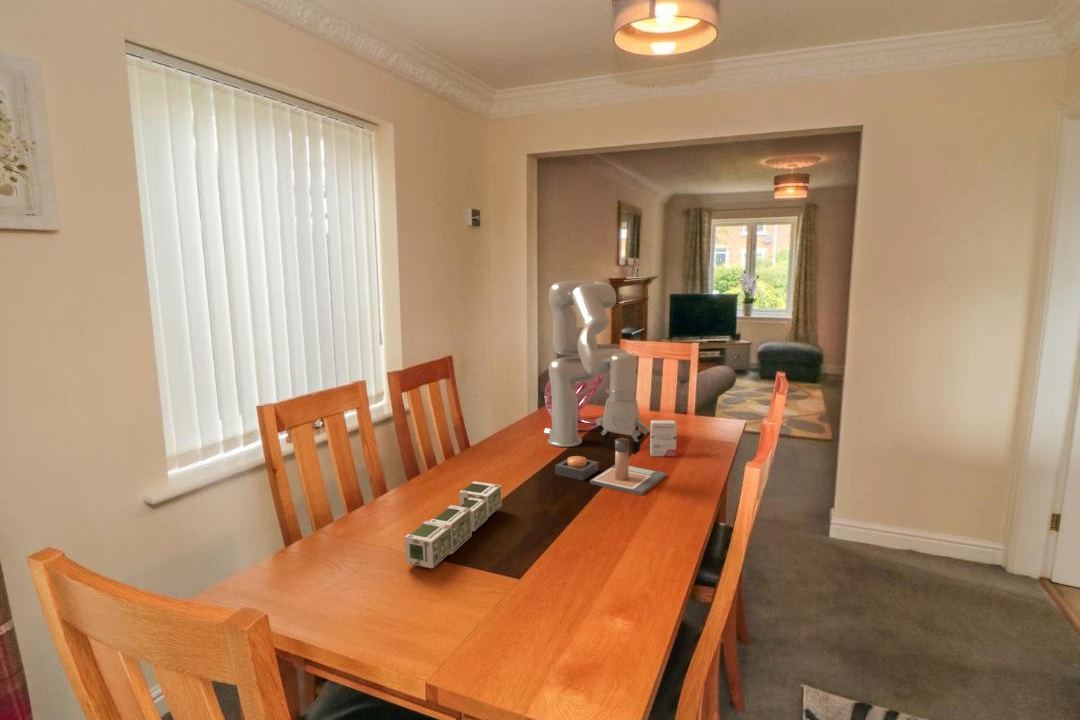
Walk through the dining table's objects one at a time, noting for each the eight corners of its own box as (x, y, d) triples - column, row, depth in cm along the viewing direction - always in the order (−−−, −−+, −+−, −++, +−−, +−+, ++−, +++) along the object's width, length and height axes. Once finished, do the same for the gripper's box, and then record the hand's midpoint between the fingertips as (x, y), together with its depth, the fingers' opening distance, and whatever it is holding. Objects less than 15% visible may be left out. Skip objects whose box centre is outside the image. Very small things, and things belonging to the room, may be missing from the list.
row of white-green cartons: (474, 506, 164) (473, 480, 162) (502, 510, 160) (501, 484, 159) (400, 566, 132) (398, 535, 130) (432, 573, 128) (431, 541, 127)
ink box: (674, 452, 207) (675, 419, 205) (676, 457, 202) (677, 423, 200) (649, 452, 207) (650, 419, 205) (650, 456, 203) (651, 423, 201)
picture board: (589, 483, 179) (589, 479, 179) (616, 466, 194) (616, 462, 193) (641, 495, 169) (641, 491, 169) (666, 476, 184) (666, 472, 184)
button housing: (555, 474, 187) (555, 465, 186) (571, 465, 195) (571, 456, 195) (582, 480, 181) (582, 471, 181) (598, 470, 190) (598, 461, 189)
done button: (563, 467, 187) (563, 460, 187) (573, 462, 192) (573, 454, 192) (580, 471, 184) (580, 463, 183) (589, 465, 189) (589, 458, 188)
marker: (612, 479, 179) (612, 440, 177) (618, 474, 183) (618, 437, 181) (625, 481, 177) (625, 443, 175) (631, 477, 180) (631, 439, 178)
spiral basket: (637, 378, 237) (583, 338, 244) (607, 409, 216) (549, 364, 222) (606, 423, 254) (556, 385, 260) (575, 456, 233) (522, 413, 239)
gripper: (590, 393, 177) (589, 448, 181) (644, 402, 168) (642, 459, 171) (602, 388, 184) (601, 441, 187) (654, 396, 174) (652, 451, 177)
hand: (621, 449), depth 179 cm, fingers open, 9 cm apart
